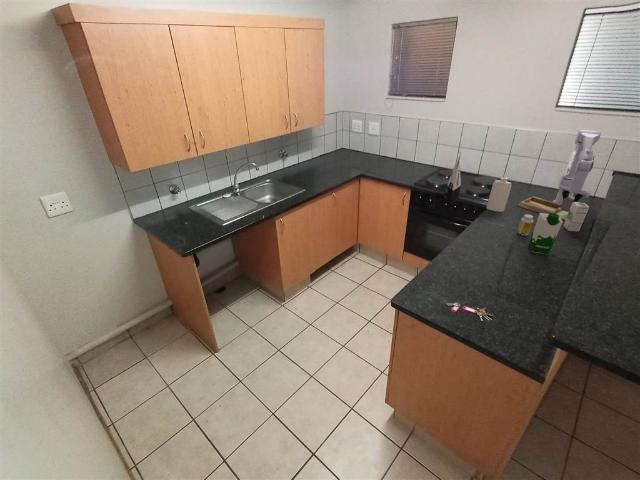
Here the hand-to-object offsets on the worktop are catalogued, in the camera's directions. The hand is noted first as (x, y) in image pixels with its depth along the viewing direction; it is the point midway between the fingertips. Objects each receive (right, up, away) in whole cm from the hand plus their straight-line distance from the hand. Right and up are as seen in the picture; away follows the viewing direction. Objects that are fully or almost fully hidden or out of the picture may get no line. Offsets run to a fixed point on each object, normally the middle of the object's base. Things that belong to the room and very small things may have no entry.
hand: (568, 204), depth 182 cm
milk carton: (-37, -26, -28) cm, 53 cm away
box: (0, -2, +1) cm, 2 cm away
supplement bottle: (-35, -17, -14) cm, 41 cm away
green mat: (0, -6, +4) cm, 7 cm away
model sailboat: (-56, +8, +28) cm, 63 cm away
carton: (-7, -1, +13) cm, 15 cm away
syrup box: (-7, -14, -10) cm, 19 cm away
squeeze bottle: (-36, -2, +12) cm, 38 cm away
